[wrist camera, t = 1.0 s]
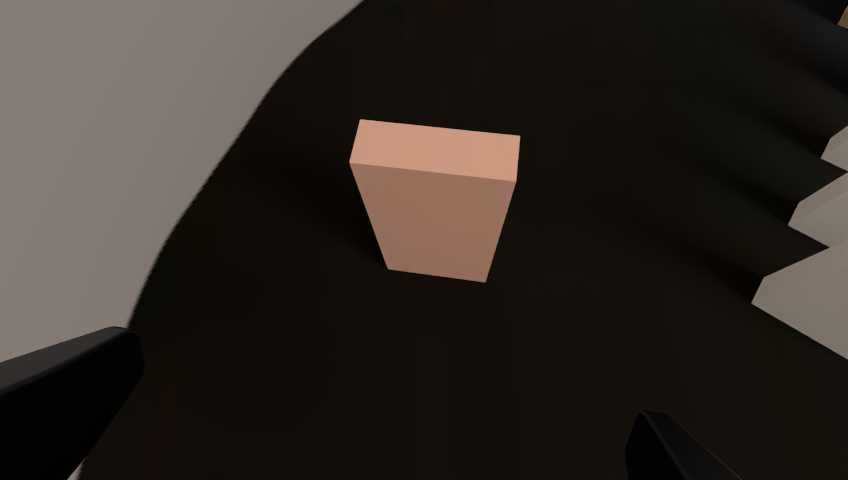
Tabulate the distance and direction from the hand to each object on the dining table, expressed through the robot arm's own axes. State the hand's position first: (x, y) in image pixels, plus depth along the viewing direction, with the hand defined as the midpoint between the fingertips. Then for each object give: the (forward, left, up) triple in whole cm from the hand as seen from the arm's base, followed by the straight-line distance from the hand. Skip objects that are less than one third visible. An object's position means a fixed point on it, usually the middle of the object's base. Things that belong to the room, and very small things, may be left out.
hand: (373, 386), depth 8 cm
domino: (+7, -2, -13) cm, 15 cm away
